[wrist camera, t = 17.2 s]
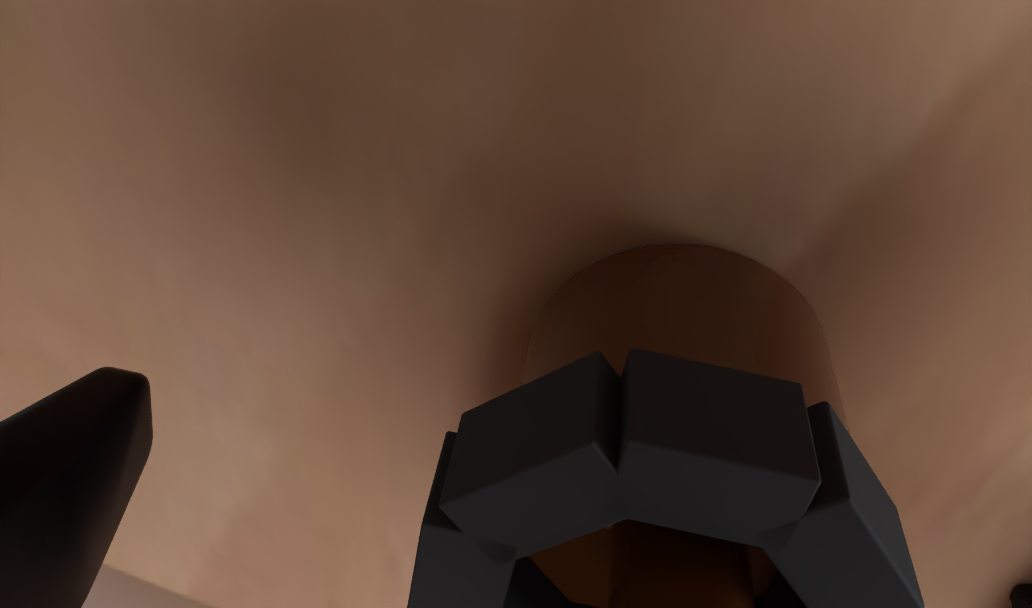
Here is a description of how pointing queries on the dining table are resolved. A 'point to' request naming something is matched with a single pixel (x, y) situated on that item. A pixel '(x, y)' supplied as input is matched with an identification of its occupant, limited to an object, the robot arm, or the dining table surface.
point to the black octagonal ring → (658, 484)
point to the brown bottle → (691, 335)
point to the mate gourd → (1021, 596)
